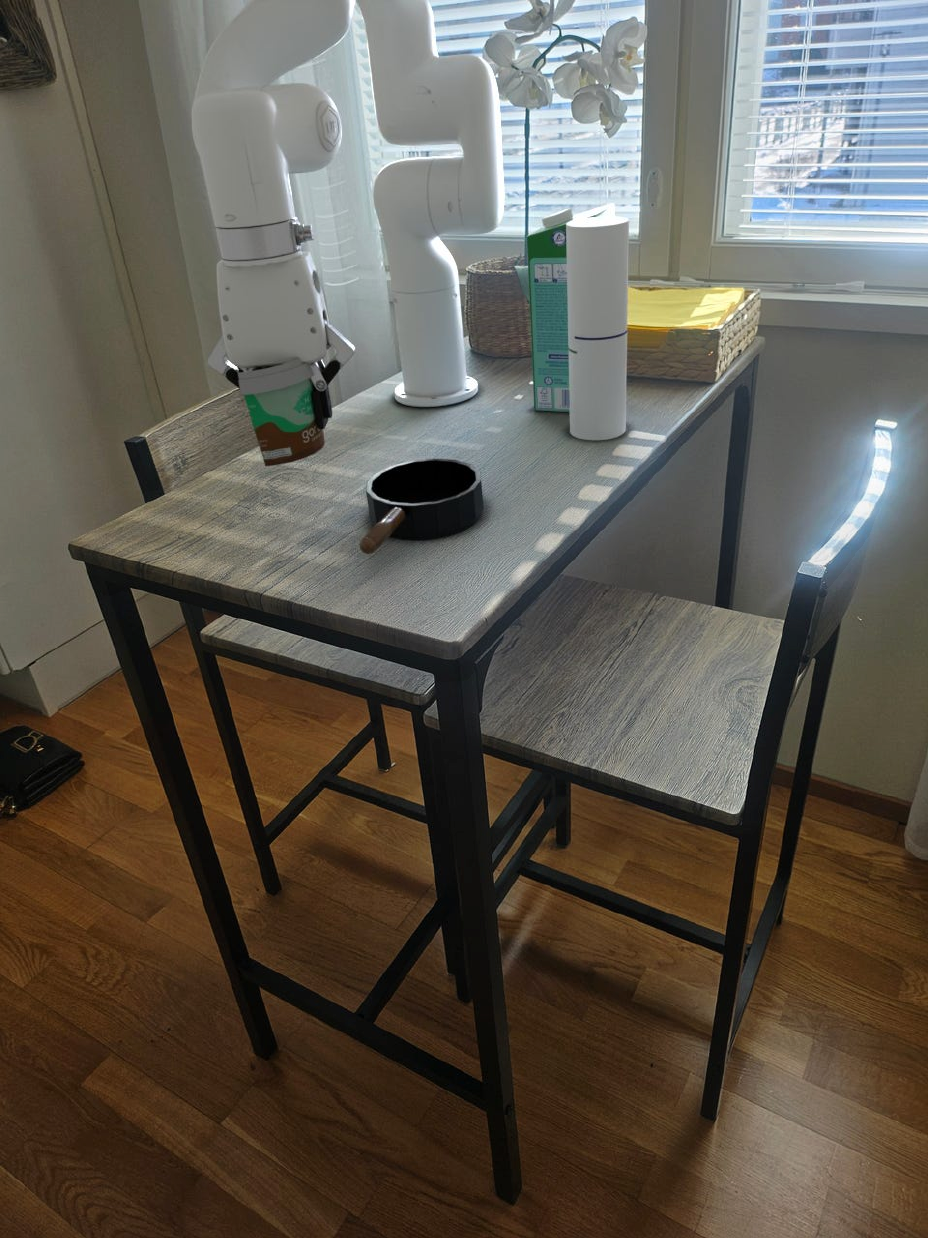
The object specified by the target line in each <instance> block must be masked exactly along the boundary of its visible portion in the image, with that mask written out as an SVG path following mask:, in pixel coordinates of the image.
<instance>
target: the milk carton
mask: <svg viewBox="0 0 928 1238" xmlns="http://www.w3.org/2000/svg"><path fill="white" fill-rule="evenodd" d="M572 211H573V210H572V208H565V209H562V210H559V211H557V212H554V213H550V214H548V215H545V216H543V217H542V218H541V222H542V227H540V228H539V229H537V230H535V231H533V232H531V233H529V234H528V235H526V254H527V276H528V297H529V301H528V302H529V321H530V322H529V323H530V324H529V325H530V343H531V345H530V346H531V366H532V367H531V369H532V388H533V389H532V390H533V391H532V393H533V410H534V411H540V412H541V411H542V412H557V413H558V412H559V413H560V412H561V413H570V400H569V347H568V297H567V244H566V223H567V222H569V221H572V220H577V219H582V218H590V217H603V216H615V203H609V204H606V205H603V206H599V207H597V208H596V207H595V208H594V209H591V210H588V211H584V212H581V213H577V214H575V215H573V212H572Z"/></svg>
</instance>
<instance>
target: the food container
mask: <svg viewBox="0 0 928 1238" xmlns="http://www.w3.org/2000/svg"><path fill="white" fill-rule="evenodd" d="M317 364H318V362H317ZM318 366H319V364H318ZM319 368H320V366H319ZM320 369H321V368H320ZM312 376H314V373H313V371H312V369H311V367H310V364H309V363H303V362H301V360H300V358H298V359H296V360H293V361H291V362H288V363H285V364H282V365H278V366H272V367H258V368H257V369H254V370H253V371H249V372H240V373H238V377H239V380H238V381H239V387H240V389H239V391H240V396H243V397H244V400H245V403H246V407H247V410H248V413H249V416H250V420H251V423H252V427H253V430H254V434H255V437H256V440H257V444H258V447H259V451H260V453H261V456H262V459H263V464H264V466H265V467H271V466H272V467H273V466H281V465H285V464H290V463H294V462H297V461H300V460H303V459H306V458H308V457H310V456H312V455H315V454H317V453H318V452H320V451H321V450H322V449H323V448H324V446H325V444H326V440H325V432H324V429H319V428H317V424H316V418H315V413H314V407H313V402H312V396H311V393H312V392H313V391H314V388H313V382H312V380H311V378H310V377H312Z"/></svg>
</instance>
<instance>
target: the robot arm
mask: <svg viewBox="0 0 928 1238" xmlns="http://www.w3.org/2000/svg"><path fill="white" fill-rule="evenodd" d="M355 6H357V7H358V10H359V12H360V15H361V18H362V21H363V25H364V31H365V37H366V44H367V45H366V46H367V53H368V62H369V71H370V72H369V73H370V78H371V79H370V80H371V90H372V97H373V106H374V112H375V117H376V124H377V128H378V130H379V132H380V136H381V137H382V138H383V140H384V141H385V142H387V143H388V144H390V145H392V146H396V147H426V146H440V145H455V144H456V145H458V146H459V147H460V150H461V153H462V155H453V156H451V155H450V156H427V157H426V156H425V157H411V158H403V159H399V160H395V161H392V162H390V163H388V164H386V165H385V166H383V167H382V168H381V169H380V170H379V171H378V173H377V175H376V176H375V179H374V182H373V186H372V198H373V205H374V209H375V214H376V217H377V220H378V223H379V226H380V230H381V235H382V238H383V242H384V246H385V251H386V257H387V261H388V262H387V263H388V268H389V277H390V284H391V291H392V292H391V293H392V300H393V307H394V316H395V317H394V318H395V324H396V333H397V339H398V348H399V349H398V350H399V358H400V365H401V372H402V382H401V383H400V384H398V385H397V386H396V387H395V388H394V389H393V394H394V399H395V400H396V401H397V402H398V403H400V404H402V405H405V406H408V407H415V408H416V407H417V408H432V407H433V408H434V407H445V406H449V405H455V404H459V403H461V402H464V401H467V400H468V399H471V398H473V397H474V396H475V395H476V394H477V393H478V391H479V383H478V381H477V380H476V379H475V378H473V377H471V376H469V375H467V363H466V351H465V340H464V327H463V315H462V303H461V292H460V279H459V270H458V266H457V263H456V261H455V259H454V257H453V255H452V253H451V252H450V250H449V249H448V248H447V246H446V245H445V244H444V242H443V240H441V237H451V236H473V235H484V234H488V233H491V232H493V231H495V230H496V229H497V228H498V227H499V226H500V224H501V223H502V219H503V216H504V211H505V209H504V208H505V180H504V179H505V178H504V163H503V162H504V161H503V143H502V140H503V139H502V124H501V122H502V121H501V107H500V96H499V89H498V85H497V80H496V77H495V74H494V72H493V69H492V67H491V66H490V64H489V63H488V62H487V61H486V60H485V59H484V58H482V57H480V56H477V55H475V54H474V55H473V54H459V55H458V54H457V55H449V56H439V54H438V50H437V41H436V31H435V21H434V12H433V9H432V5H431V4H430V1H429V0H249V1H248V2H247V3H246V4H245V5H244V6H243V7H242V8H241V10H239V12H238V13H237V14H236V15H235V16H234V17H233V18H232V19H231V20H230V21H229V22H228V23H227V24H226V26H224V28H223V29H221V31H220V32H219V34H218V35H217V36H216V37H215V39H214V41H213V42H212V44H211V45H210V47H209V49H208V51H207V53H206V55H205V58H204V60H203V63H202V66H201V71H200V73H199V78H198V81H197V85H196V87H195V88H196V89H195V93H194V94H195V95H194V99H193V103H192V106H191V133H192V138H193V139H192V140H193V143H194V147H195V149H196V151H197V155H198V156H199V159H200V164H201V169H202V174H203V179H204V182H205V188H206V191H207V192H206V193H207V196H208V201H209V205H210V210H211V216H212V219H213V225H214V228H215V233H216V238H217V239H216V240H217V243H218V248H219V252H220V256H221V260H219V261H217V263H216V287H217V288H216V289H217V300H218V310H219V317H220V318H219V319H220V325H221V332H222V334H221V336H220V338H219V340H218V341H217V343H216V345H215V347H214V348H213V350H212V351H211V354H210V355H209V357H208V359H207V361H206V364H207V366H208V367H209V368H211V369H212V370H214V371H215V372H217V373H218V374H220V375H221V376H223V377H225V378H226V380H227V381H229V382H230V383H231V384H233V385H234V386H235V387H236V388H237V389H239V390H240V387H239V381H238V380H239V377H238V373H240V372H249V371H253V370H254V369H257V368H258V367H272V366H278V365H282V364H285V363H288V362H291V361H293V360H296V359H298V358H300V360H301V362H303V363H309V364H310V367H311V369H312V371H313V373H314V376H312V377H310V378H311V380H312V382H313V388H314V391H313V392H312V393H311V396H312V402H313V407H314V413H315V418H316V424H317V428H319V429H323V430H325V429H326V427H327V424H328V423H329V419H331V418H332V417H333V406H332V402H331V401H332V400H331V396H330V390H329V385H330V384H331V382H332V381H333V379H335V377H336V376H337V374H338V373H339V372H340V370H341V369H342V368H343V367H344V366H345V365H346V364H347V362H348V361H350V360H351V358H353V356H354V354H355V352H356V347H355V345H354V344H353V343H352V342H350V341H349V340H348V338H347V337H345V336H344V335H343V334H342V333H341V332H340V331H339V330H338V329H336V327H335V326H333V325H332V324H331V323H330V319H329V314H328V310H327V305H326V302H325V301H326V300H325V296H324V293H323V288H322V284H321V281H320V277H319V273H318V271H317V268H316V264H315V262H314V259H313V256H312V255H311V252H310V251H305V250H304V251H302V248H303V245H304V244H305V243H308V242H310V241H315V232H314V227H313V225H312V224H310V225H305V224H304V223H303V224H301V222H300V221H299V219H298V217H296V210H295V206H294V199H293V194H292V193H293V192H292V187H291V182H290V175H291V174H292V175H293V174H306V173H313V172H317V171H320V170H322V169H324V168H326V167H327V166H328V165H329V164H331V163H332V162H333V160H334V159H335V158H336V156H337V155H338V152H339V150H340V148H341V144H342V137H343V126H342V120H341V115H340V113H339V110H338V108H337V106H336V104H335V102H334V101H333V99H332V98H331V96H329V94H327V92H325V91H324V90H323V89H321V88H320V87H318V86H316V85H313V84H310V83H304V82H289V83H279V84H273V83H274V82H275V81H277V80H278V79H279V78H281V77H283V76H284V75H286V74H288V73H290V72H291V71H293V70H296V69H297V68H299V67H301V66H303V65H305V64H307V63H309V62H312V61H313V60H315V59H316V58H318V57H320V56H321V55H323V54H325V53H326V52H328V51H329V50H330V49H332V48H333V47H335V46H336V45H337V44H339V43H340V42H341V41H342V40H343V39H344V37H346V35H347V33H348V31H349V30H350V26H351V23H352V20H353V14H354V11H355ZM331 347H333V348H334V349H335V350H336V354H335V355H334V356H333V357H332V358H331V359H329V362H328V363H327V364H325V363H324V361H323V359H325V357H326V355H327V350H329V349H330V348H331ZM317 362H318V364H319V366H320V368H321V369H320V368H319V366H318V364H317Z"/></svg>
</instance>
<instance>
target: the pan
mask: <svg viewBox="0 0 928 1238" xmlns="http://www.w3.org/2000/svg"><path fill="white" fill-rule="evenodd" d="M365 495H366V503H367V508H368V515H369V519H370V522H371V525H372V528H371V529H370V530H369V531H368V532H367V533H366V534H365V535H364V536H363V537H362V538H361V539H360V540H359V550H360V551H361V552H362V553H363V554H366V555H371V554H373V553H375V552H376V551H377V550H378V549H379V547H381V545H383V544H384V542H385V541H386V540H387V539H389V538H393V539H396V540H404V541H429V540H436V539H442V538H446V537H450V536H454V535H456V534H457V535H458V534H459V533H462V532H464V531H466V530H468V529H470V528H472V527H473V526H474V525H476V524H477V523H478V522H479V521H480V520H481V519H482V517H483V515H484V511H485V510H484V509H485V508H484V496H483V495H484V493H483V483H482V473H481V471H480V470H479V468H476V467H475V466H474V465H473V464H471V463H469V462H464V461H461V460H457V459H449V458H426V459H416V460H415V459H414V460H410V461H405V462H401V463H397V464H393V465H391V466H389V467H385V468H384V469H381V470H380V471H378V472H376V473H375V474H374V475H373V476H372V477H371V478H369V479H368V480H367V482H366V486H365Z"/></svg>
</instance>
